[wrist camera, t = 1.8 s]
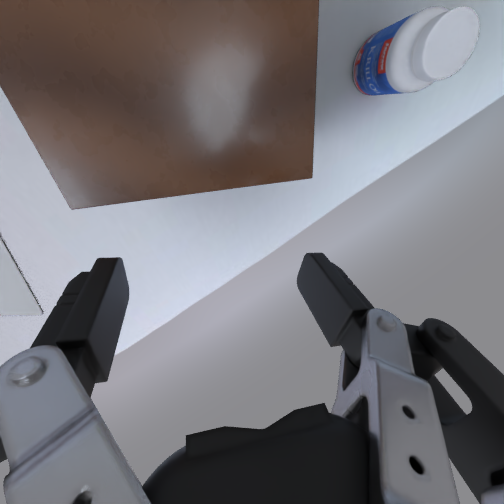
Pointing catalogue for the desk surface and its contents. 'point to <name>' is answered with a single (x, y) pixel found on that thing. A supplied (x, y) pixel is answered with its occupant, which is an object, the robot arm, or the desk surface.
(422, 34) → the pill bottle
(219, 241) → the desk surface
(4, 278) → the grey clipboard
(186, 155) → the walnut stand
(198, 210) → the desk surface
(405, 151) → the desk surface
